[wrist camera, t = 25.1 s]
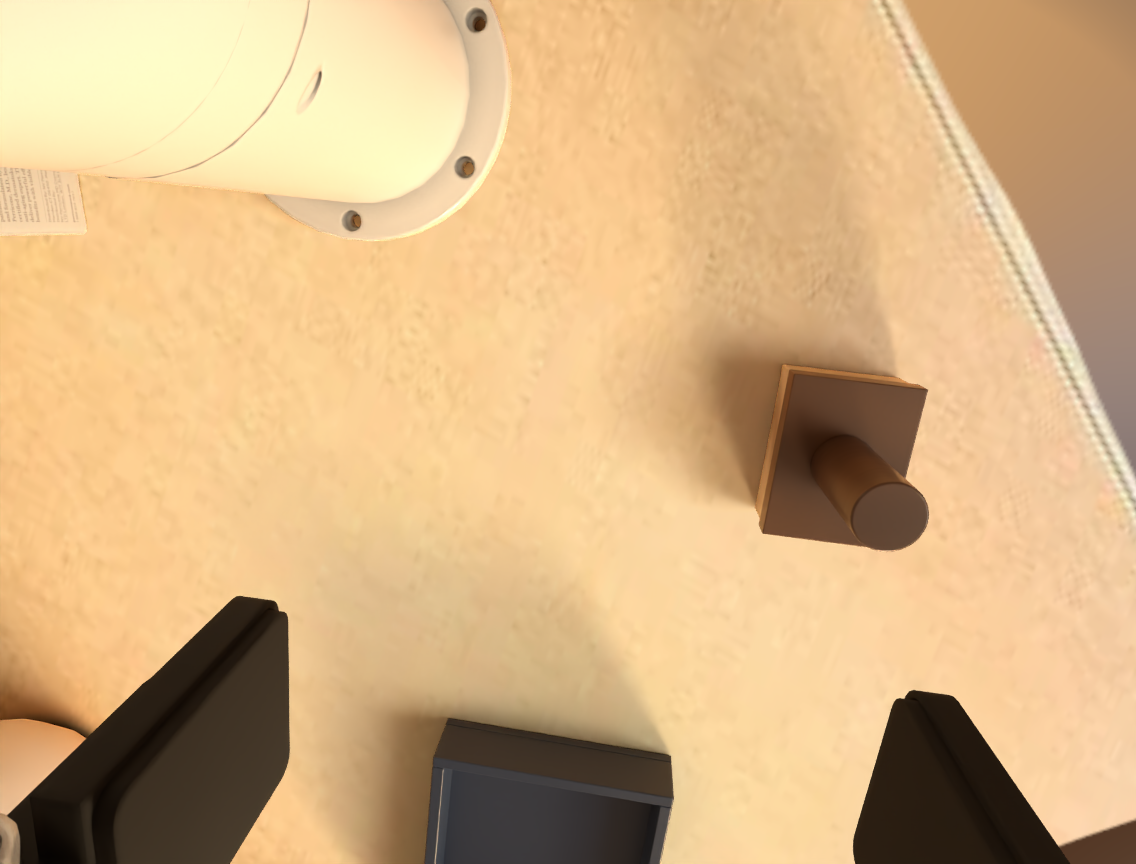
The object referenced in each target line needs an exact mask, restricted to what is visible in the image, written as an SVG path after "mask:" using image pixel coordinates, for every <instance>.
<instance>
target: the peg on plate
mask: <svg viewBox="0 0 1136 864" xmlns="http://www.w3.org/2000/svg"><path fill="white" fill-rule="evenodd" d="M927 392H928V389H926V388H924V387H922V386H920V385H918V384H910V383H907V382H906V381H904V380H902V379H900V378H895V377H886V376H878V375H869V374H861V373H853V372H844V371H836V370H827V369H819V368H811V367H802V366H794V365H785V364H784V365H783V366H782V371H781V376H780V381H779V386H778V392H777V397H776V402H775V407H774V412H773V417H772V423H771V428H770V433H769V438H768V443H767V448H766V453H765V459H764V464H763V469H762V474H761V479H760V484H759V490H758V495H757V500H756V505H755V509H756V511H757V513H758V516H759V518H760V521H759V526H760V529H761V531H762V533H763V534H770V535H777V536H785V537H792V538H800V539H807V540H815V541H822V542H830V543H837V544H845V545H852V546H860V547H868V548H870V549H873V550H876V551H882V552H892V551H897V550H901V549H903V548H906V547H908V546H910V545H911V544H913V543H914V542H915V541H916V540H917V539H918V538H919V537H920V536H921V535H922V533H923V532H924V530H925V528H926V526H927V523H928V518H929V510H928V505H927V502H926V500H925V498H924V497H923V495H922V494H921V493H920V492H919V491H918V490H917V489H916V488H915V487H914V486H913V485H911V484H910V483H909V482H908V481H907V480H906V479H905V478H906V474H907V470H908V466H909V462H910V458H911V454H912V450H913V447H914V443H915V439H916V435H917V431H918V427H919V423H920V419H921V415H922V411H923V407H924V403H925V400H926V396H927Z"/></svg>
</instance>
